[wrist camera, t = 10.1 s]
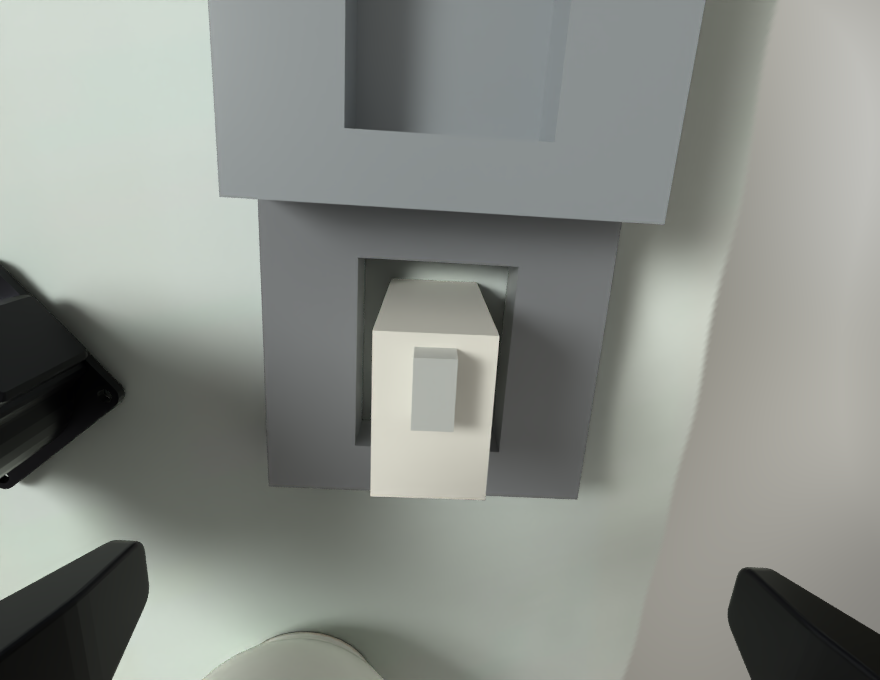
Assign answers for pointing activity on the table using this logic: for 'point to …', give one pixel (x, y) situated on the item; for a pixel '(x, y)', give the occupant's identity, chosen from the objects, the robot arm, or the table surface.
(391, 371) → the plug
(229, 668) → the lidded jar
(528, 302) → the socket panel
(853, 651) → the robot arm
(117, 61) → the table surface
